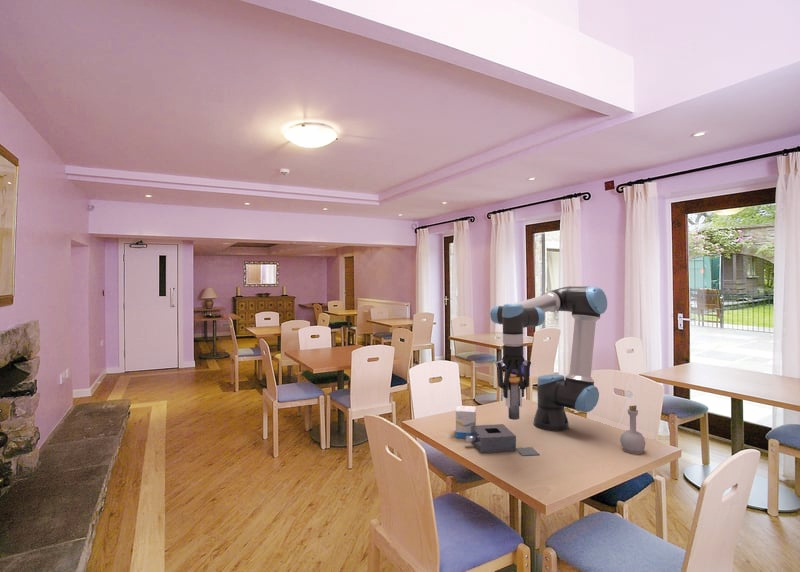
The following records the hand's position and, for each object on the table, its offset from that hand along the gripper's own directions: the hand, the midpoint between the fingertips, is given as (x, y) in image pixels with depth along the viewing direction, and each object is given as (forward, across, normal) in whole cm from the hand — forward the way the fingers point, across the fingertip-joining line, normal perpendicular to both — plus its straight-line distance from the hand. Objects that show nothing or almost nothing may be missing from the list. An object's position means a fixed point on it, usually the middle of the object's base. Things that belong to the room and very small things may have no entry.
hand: (513, 405), depth 162 cm
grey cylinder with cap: (+5, 0, 0) cm, 5 cm away
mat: (+20, -7, -3) cm, 21 cm away
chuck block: (+20, +6, -12) cm, 24 cm away
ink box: (+20, +12, -25) cm, 34 cm away
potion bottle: (+20, -48, +1) cm, 52 cm away
